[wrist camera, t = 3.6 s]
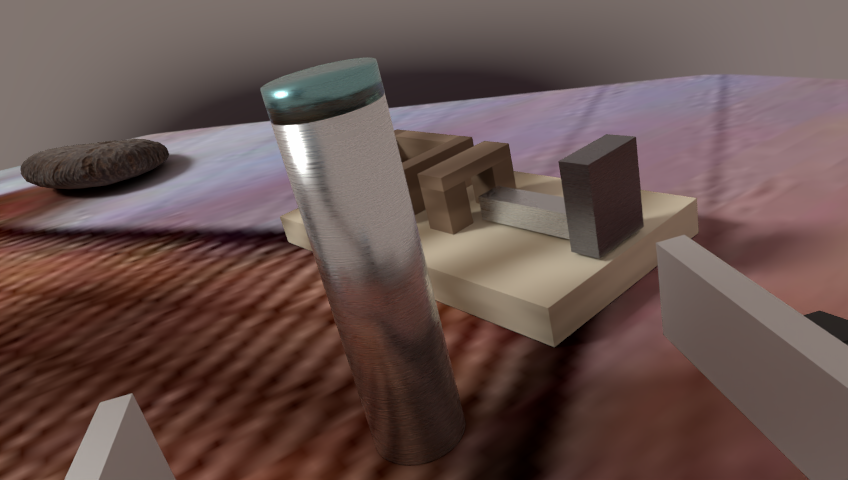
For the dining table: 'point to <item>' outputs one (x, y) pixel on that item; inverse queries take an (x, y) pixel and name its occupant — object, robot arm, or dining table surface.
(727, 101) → the dining table surface
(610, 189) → the lock pin
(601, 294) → the dock
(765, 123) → the dining table surface
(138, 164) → the decorative stone
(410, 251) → the silver cylinder
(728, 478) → the dining table surface
